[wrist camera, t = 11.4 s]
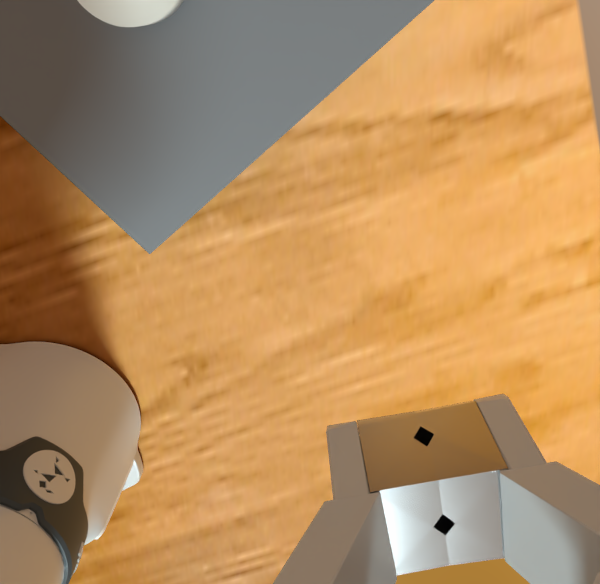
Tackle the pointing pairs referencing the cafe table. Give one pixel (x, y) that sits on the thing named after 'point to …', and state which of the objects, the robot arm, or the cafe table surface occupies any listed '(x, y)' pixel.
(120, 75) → the dial plate
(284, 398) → the cafe table surface
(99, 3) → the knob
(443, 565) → the robot arm
